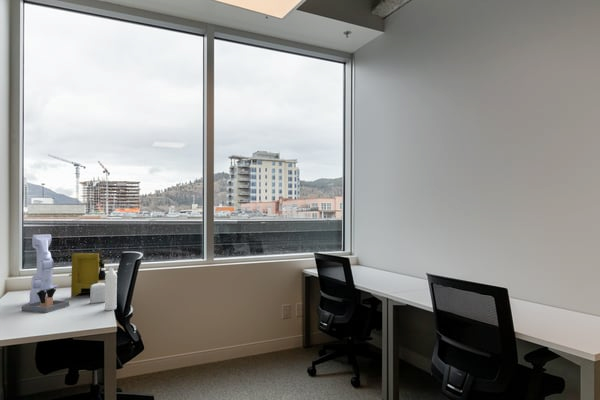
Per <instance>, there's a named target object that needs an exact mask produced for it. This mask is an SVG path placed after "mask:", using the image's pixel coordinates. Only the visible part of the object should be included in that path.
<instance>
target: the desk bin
mask: <svg viewBox="0 0 600 400" xmlns="http://www.w3.org/2000/svg"><path fill="white" fill-rule="evenodd" d="M68 307H70V301H69V300H58V299H57V300H56V299H53V306H49V307H40V301H38V302H34V303H27V304H23V305H21V312H31V313H42V314H43V313H44V314H47V313H51V312H55V311H57V310H60V309H61V310H62V309H65V308H68Z"/></svg>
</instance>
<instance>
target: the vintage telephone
mask: <svg viewBox="0 0 600 400" xmlns="http://www.w3.org/2000/svg"><path fill="white" fill-rule="evenodd" d="M104 257H106V258H104ZM106 259H107V260H109V259H108V257H107V256H106V255H103V257H102V258H100V254H99V253H72V255H71V274H70V273H69V274H68V277H71V286H70V289H71V290H70V298H73V297H74V296H75V297H78V296H80V295H83V294H90V289H91V285H93V284H97V283H100V281H101V282H102V281H105V276H106V274H107V273H106V270H101V269H102V268H105V263H106V262H107V261H106ZM79 294H80V295H79Z"/></svg>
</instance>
